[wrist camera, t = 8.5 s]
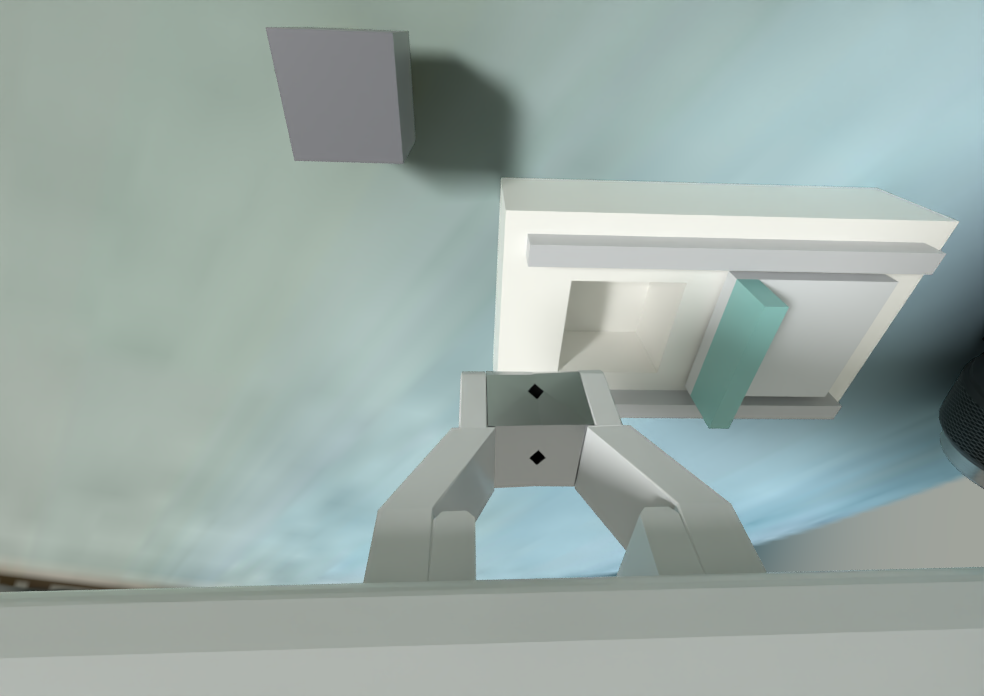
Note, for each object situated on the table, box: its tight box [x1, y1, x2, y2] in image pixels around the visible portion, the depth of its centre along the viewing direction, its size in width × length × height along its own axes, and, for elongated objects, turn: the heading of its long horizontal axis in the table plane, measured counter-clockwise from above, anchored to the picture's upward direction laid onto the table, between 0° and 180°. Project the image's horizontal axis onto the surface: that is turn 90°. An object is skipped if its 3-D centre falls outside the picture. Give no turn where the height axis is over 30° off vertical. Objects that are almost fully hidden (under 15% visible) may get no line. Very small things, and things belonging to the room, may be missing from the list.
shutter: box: [685, 271, 899, 429], centre depth 21 cm, size 7×8×3 cm
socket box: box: [493, 177, 959, 419], centre depth 24 cm, size 12×20×6 cm, turn 88°
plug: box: [266, 27, 416, 164], centre depth 18 cm, size 4×4×6 cm
